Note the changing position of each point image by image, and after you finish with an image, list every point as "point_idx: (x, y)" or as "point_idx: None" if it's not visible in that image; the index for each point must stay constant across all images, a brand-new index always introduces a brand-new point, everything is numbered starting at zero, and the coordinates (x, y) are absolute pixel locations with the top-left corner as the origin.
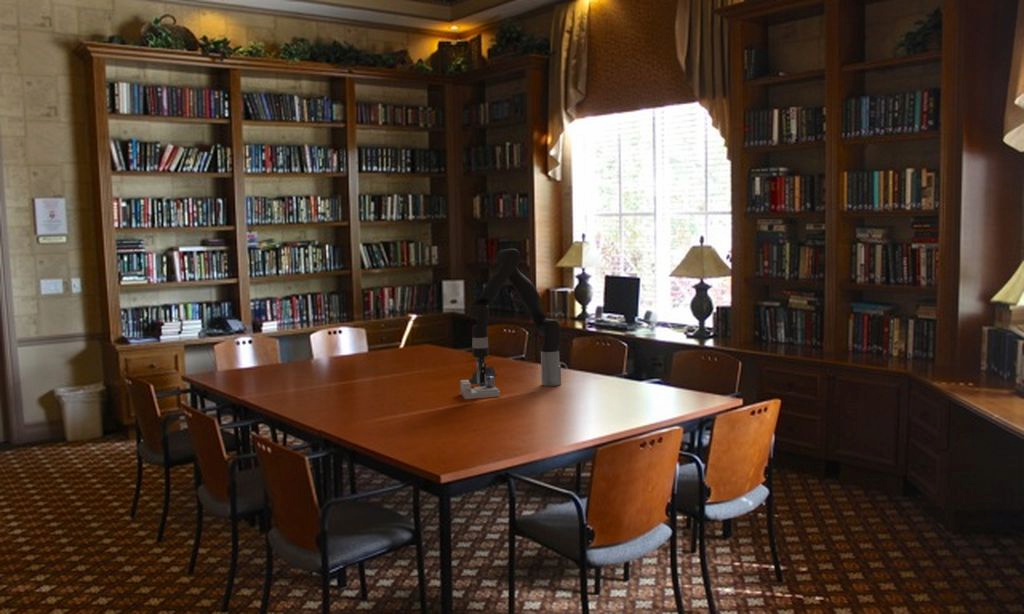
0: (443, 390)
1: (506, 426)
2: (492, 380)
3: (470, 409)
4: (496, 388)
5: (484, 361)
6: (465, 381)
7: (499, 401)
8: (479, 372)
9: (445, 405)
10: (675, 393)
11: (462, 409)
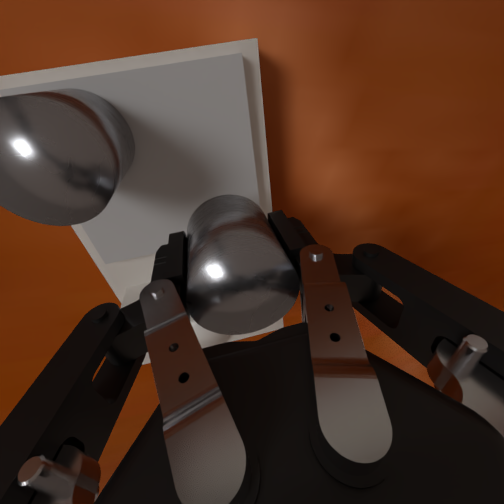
0: (36, 372)
1: None
2: (100, 123)
3: (478, 225)
4: (178, 72)
5: (384, 436)
6: (208, 336)
7: (411, 66)
8: (302, 313)
9: (357, 311)
10: None
11: (456, 253)
